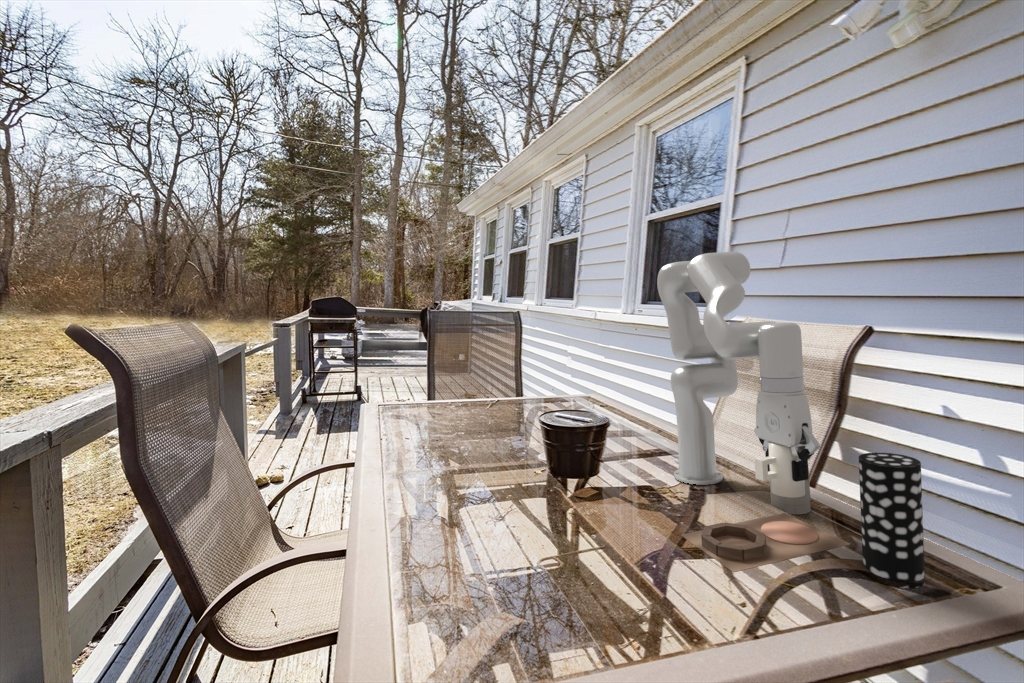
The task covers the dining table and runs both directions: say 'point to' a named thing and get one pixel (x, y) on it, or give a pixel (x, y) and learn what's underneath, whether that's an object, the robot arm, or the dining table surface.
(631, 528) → the dining table surface
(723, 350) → the robot arm
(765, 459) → the white ceramic pitcher
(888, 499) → the white-spotted black cylinder
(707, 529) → the holder board
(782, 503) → the thermos bottle
